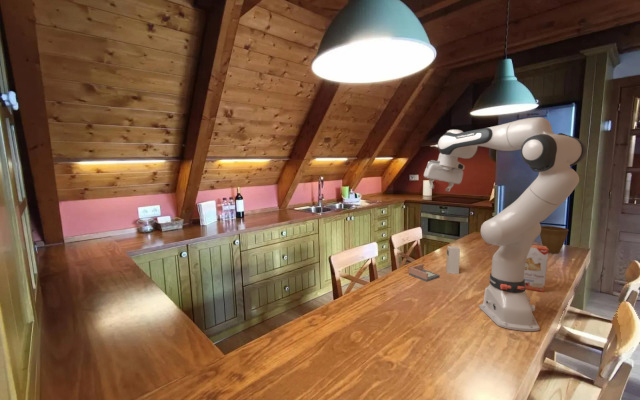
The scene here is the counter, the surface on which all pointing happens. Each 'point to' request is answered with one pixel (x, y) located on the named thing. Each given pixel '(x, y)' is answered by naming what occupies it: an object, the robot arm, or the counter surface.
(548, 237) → the plant pot
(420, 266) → the corner arena
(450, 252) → the painted block
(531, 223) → the robot arm
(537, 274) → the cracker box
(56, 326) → the counter surface
